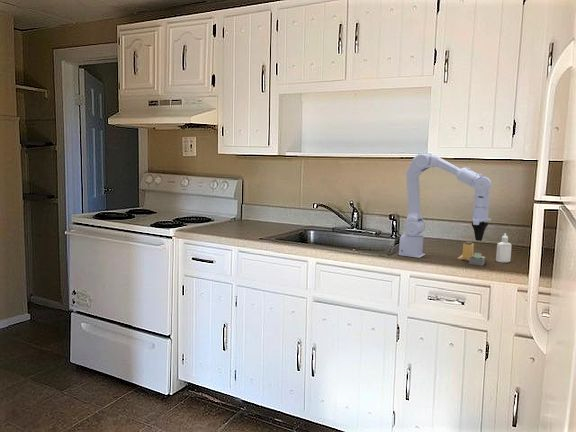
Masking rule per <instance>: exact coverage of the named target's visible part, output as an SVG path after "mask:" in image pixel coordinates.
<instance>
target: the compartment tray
mask: <svg viewBox="0 0 576 432" xmlns="http://www.w3.org/2000/svg"><path fill="white" fill-rule="evenodd" d="M462 255H463V253H461V255H459V256H458V257H456V260H458V261H463V262H464V261H466V262H469V258H463V257H462ZM473 256H474V254H473ZM481 257H484V258H485V260H486V259H487V257H486V256H482V255H481Z"/></svg>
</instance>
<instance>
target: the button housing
mask: <svg viewBox="0 0 576 432" xmlns="http://www.w3.org/2000/svg"><path fill="white" fill-rule="evenodd" d="M484 257H485V256H482V257H481V259H475V258H474V256H472V257H470V258H469V261H468V265H474V266H484V265H485V264H486V259H485V258H484Z"/></svg>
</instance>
